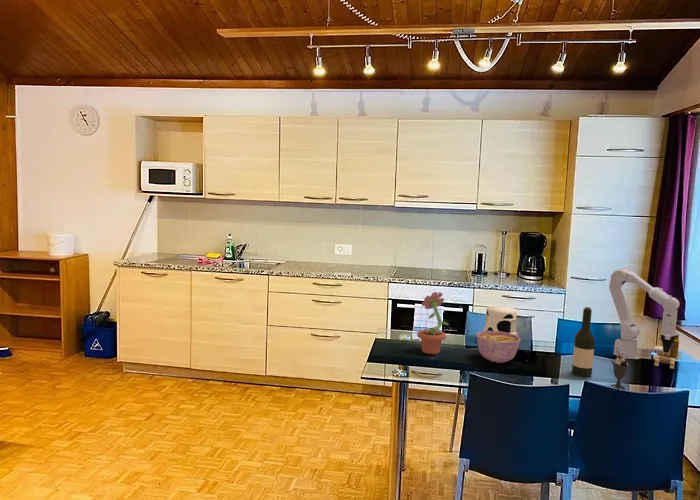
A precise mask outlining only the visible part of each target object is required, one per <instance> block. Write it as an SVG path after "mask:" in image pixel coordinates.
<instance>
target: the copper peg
mask: <svg viewBox="0 0 700 500" xmlns="http://www.w3.org/2000/svg"><path fill="white" fill-rule="evenodd" d="M670 348H671V347H670ZM662 355H663V356H670V350H669V353H666V352H663V353H662Z"/></svg>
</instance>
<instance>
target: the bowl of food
mask: <svg viewBox="0 0 700 500" xmlns="http://www.w3.org/2000/svg"><path fill="white" fill-rule="evenodd" d="M476 340H477V346H478V351H479V354H480V356H482V357H483V358H485V359H487V361H489V360H490V361H489V362H491V361H492V362H491V363H494V362H496V363H497V364H504V363H506V362H509V361H511V360H513V358H514V357H515V356H516V354H517V352H518V349H519V345H520V343H521V337H520V336H518V335H517V336H516V335H514V334H510V333H506V332H500V331H483V330H482V331H478V332H477V333H476Z"/></svg>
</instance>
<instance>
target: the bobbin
mask: <svg viewBox="0 0 700 500" xmlns="http://www.w3.org/2000/svg"><path fill="white" fill-rule="evenodd" d="M654 350H656V351H657V354H656V355H657V356H663V355H662V353H663V345H662V346H661V345H654ZM656 355H653V357H652V359H654V360H655V357H656ZM663 357H664V356H663Z"/></svg>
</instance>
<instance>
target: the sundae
mask: <svg viewBox="0 0 700 500" xmlns="http://www.w3.org/2000/svg"><path fill="white" fill-rule="evenodd" d="M617 351H618V350H617ZM618 352H619V351H618ZM611 363H612V366H613V376H614V377H615V378H616V379H617V380H616V381H617V382H616V383H614V384H611V387H612V386H615V387H616V388H615V389H617V388H621V389H620V390H624V389H625V388H626V387H625V386H624V385H622V384H621V380H622V379H624V378H625V377H626V373H627V370H628V367H629V366H630V363H628V362H627V360H626V359H624V358H623V357H621V355H620V353H619V356H616V358H615V359H614V360H612V361H611Z"/></svg>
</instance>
